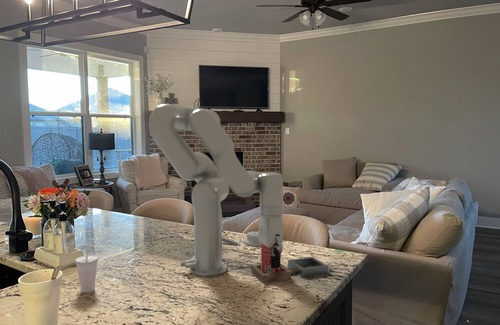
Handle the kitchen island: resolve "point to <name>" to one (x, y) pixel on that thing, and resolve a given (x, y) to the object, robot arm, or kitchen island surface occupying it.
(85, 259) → the smoothie
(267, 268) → the soda can
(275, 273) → the stand socket
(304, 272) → the socket
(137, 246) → the kitchen island surface
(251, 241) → the mechanical component
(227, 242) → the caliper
